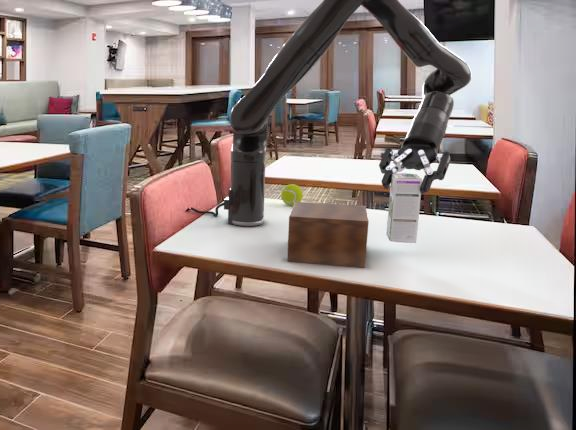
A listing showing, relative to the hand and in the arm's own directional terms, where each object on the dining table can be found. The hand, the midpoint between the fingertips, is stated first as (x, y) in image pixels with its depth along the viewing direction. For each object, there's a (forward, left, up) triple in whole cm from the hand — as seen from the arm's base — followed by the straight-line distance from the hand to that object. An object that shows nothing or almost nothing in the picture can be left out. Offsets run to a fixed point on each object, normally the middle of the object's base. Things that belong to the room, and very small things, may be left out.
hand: (403, 189), depth 117 cm
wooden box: (-15, -4, -15) cm, 22 cm away
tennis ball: (-27, +44, -15) cm, 54 cm away
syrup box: (+1, +1, -12) cm, 12 cm away
